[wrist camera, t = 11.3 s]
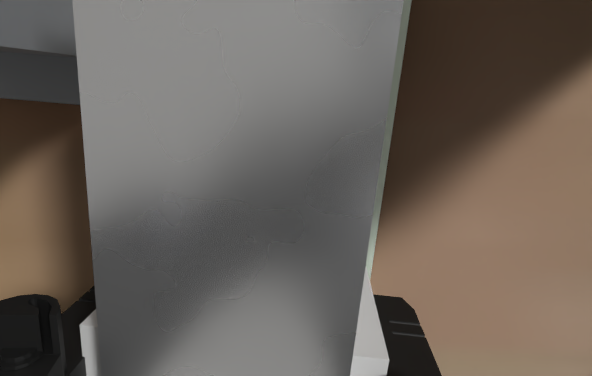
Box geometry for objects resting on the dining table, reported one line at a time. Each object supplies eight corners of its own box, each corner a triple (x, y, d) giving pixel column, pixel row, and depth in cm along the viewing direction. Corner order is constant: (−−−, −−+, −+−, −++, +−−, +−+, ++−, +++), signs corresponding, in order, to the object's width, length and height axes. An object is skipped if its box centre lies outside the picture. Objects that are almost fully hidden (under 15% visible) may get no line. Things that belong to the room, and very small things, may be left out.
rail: (186, -85, 8) (52, -257, 4) (378, -73, 8) (438, -240, 4) (187, 527, 13) (128, 721, 9) (304, 542, 12) (296, 748, 9)
